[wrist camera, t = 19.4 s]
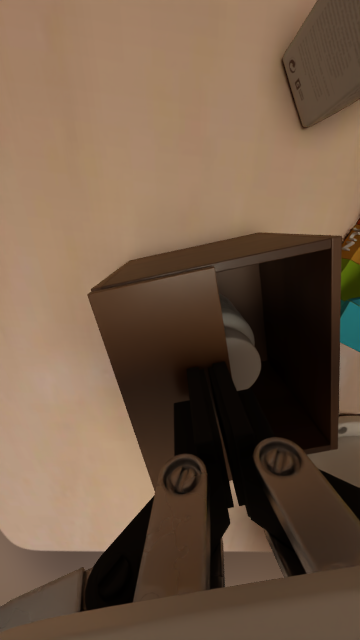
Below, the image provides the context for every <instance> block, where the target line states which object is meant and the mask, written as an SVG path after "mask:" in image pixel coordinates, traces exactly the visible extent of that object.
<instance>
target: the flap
mask: <svg viewBox="0 0 360 640" xmlns="http://www.w3.org/2000/svg"><path fill="white" fill-rule="evenodd" d="M87 295H88V298H89V301H90V304H91V307H92V310H93V313H94V316H95V319H96V321H97V324H98V327H99V330H100V333H101V336H102V339H103V342H104V345H105V348H106V351H107V353H108V356H109V359H110V362H111V365H112V368H113V371H114V374H115V377H116V380H117V383H118V385H119V388H120V391H121V394H122V397H123V400H124V403H125V406H126V409H127V412H128V415H129V418H130V420H131V423H132V426H133V429H134V432H135V435H136V438H137V441H138V444H139V447H140V450H141V452H142V455H143V458H144V461H145V464H146V467H147V470H148V473H149V476H150V479H151V482H152V484H153V487H154V490H155V491H156V486H157V481H158V476H159V473H160V470H161V468H162V467H163V465H164V464H165V463H166V462H167V461H168V460H169V459H171V458H172V457H174V403H177V402H182V401H188V400H190V399H189V389H188V380H187V371H186V369H189V368H194V367H199V370H201V369H204V370H205V374H206V379H207V383H208V387H209V391H210V396H211V400H212V404H213V408H214V413H215V417H216V421H217V425H218V429H219V434H220V438H221V443H222V448H223V453H224V458H225V463H226V469H227V474H228V479H229V481H231V480H233V479H232V475H231V471H230V467H229V463H228V459H227V455H226V451H225V447H224V443H223V439H222V434H221V430H220V426H219V422H218V417H217V412H216V407H215V402H214V396H213V391H212V386H211V381H210V376H209V370H208V368H211V367H213V366H212V364H214V363H219V362H224V361H225V363H226V365H227V368H228V370H229V373H230V375H231V378H232V374H231V368H230V361H229V355H228V348H227V342H226V336H225V329H224V323H223V316H222V310H221V303H220V297H219V291H218V284H217V278H216V271H215V267H213V266H212V267H208V268H203V269H198V270H193V271H189V272H184V273H179V274H175V275H170V276H165V277H160V278H156V279H151V280H146V281H142V282H137V283H132V284H127V285H123V286H118V287H113V288H109V289H104V290H99V291H94V292H90V293H89V294H87Z"/></svg>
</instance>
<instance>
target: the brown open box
mask: <svg viewBox="0 0 360 640" xmlns="http://www.w3.org/2000/svg"><path fill="white" fill-rule="evenodd" d="M341 256H342V236H331V235H306V234H281V233H255V234H251V235H246V236H241V237H237V238H232V239H227V240H223V241H218V242H213V243H209V244H204V245H199V246H195V247H190V248H186V249H181V250H176V251H172V252H167V253H162V254H158V255H153V256H148V257H144V258H139V259H135V260H130V261H128V262H127V263H126V264H124V265H123V266H121V267H120V268H119V269H117V270H116V271H115V272H113V273H112V274H111V275H109V276H108V277H107V278H105V279H104V280H103V281H101V282H100V283H99V284H97V285H96V286H95V287H93V288H92V289H91V292H94V291H99V290H104V289H109V288H113V287H118V286H123V285H127V284H132V283H137V282H142V281H146V280H151V279H156V278H160V277H165V276H170V275H175V274H179V273H184V272H189V271H193V270H198V269H203V268H208V267H212V266H213V267H215V271H216V278H217V284H218V291H219V294H221V295H223V296H225V297H226V298H227V299H228V300H229V301H230V302H231V303H232V304H233V306H234V307H235V308H236V309H237V311H238V312H239V313H240V315H241V316H242V317H243V318H244V320H245V321H246V322H247V323H248V325H249V326H250V328H251V330H252V332H253V335H254V341H255V345H254V347H255V348H256V350H257V351H258V353H259V356H260V359H261V370H260V373H259V376H258V378H257V379H256V381H255V382H254V384H253V385H252V386H251V387H250V388H251V389H252V391H253V393H254V395H255V396H256V398H257V400H258V402H259V404H260V406H261V408H262V410H263V412H264V414H265V416H266V418H267V420H268V422H269V424H270V426H271V428H272V430H273V432H274V434H275V436H276V437H280V438H285V439H288V440H291V441H292V442H294V443H296V444H297V445H298V446H299V447H300V448H301V449H302V450H303V451H304V452H305V453H306V455H308V454H314V453H319V452H325V451H330V450H336V449H338V420H339V366H340V311H341ZM250 388H248V389H250Z"/></svg>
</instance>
